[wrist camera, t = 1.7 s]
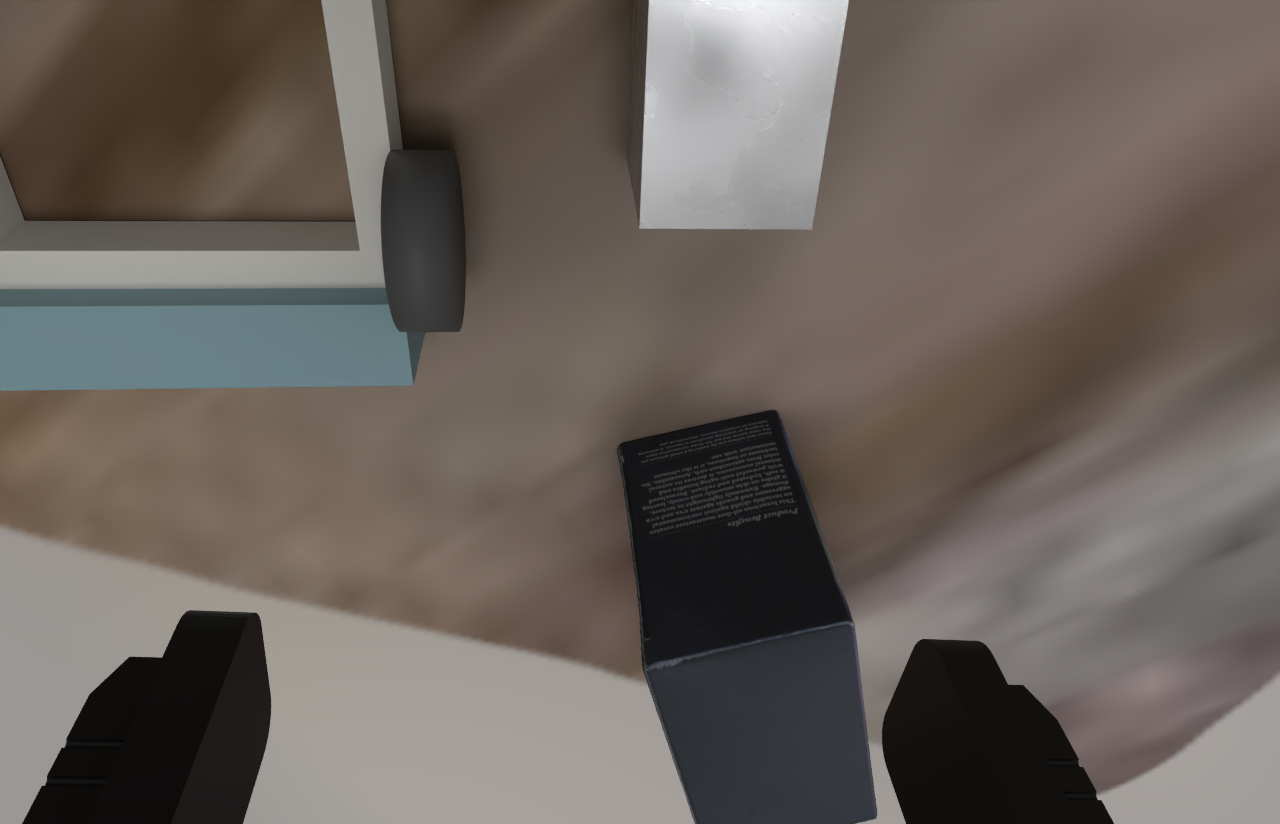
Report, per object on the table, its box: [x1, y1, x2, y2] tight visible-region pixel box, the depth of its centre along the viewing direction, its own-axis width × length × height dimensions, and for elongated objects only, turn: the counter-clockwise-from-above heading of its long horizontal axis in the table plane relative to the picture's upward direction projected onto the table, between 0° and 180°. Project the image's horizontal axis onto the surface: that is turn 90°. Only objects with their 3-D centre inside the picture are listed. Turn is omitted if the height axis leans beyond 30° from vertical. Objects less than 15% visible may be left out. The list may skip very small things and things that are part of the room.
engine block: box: [627, 0, 849, 229], centre depth 24 cm, size 6×4×5 cm
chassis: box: [0, 0, 466, 391], centre depth 22 cm, size 20×16×5 cm
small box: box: [617, 411, 877, 824], centre depth 32 cm, size 11×6×10 cm, turn 13°
